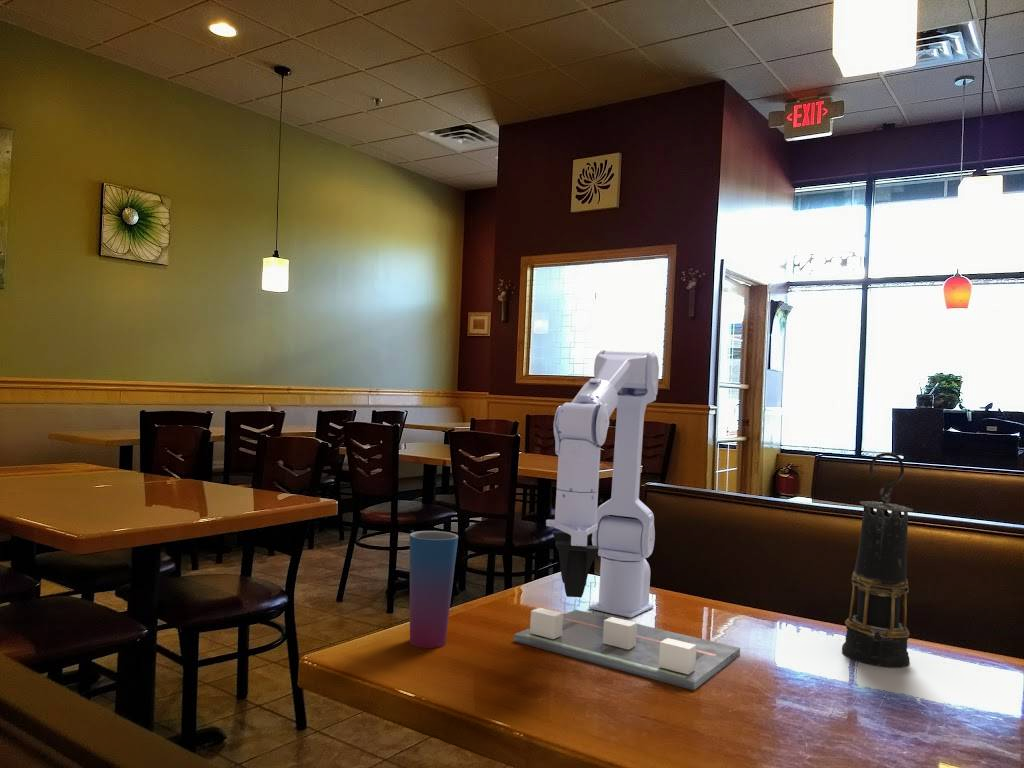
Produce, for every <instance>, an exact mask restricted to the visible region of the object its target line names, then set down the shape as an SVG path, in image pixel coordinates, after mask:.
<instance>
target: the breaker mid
mask: <svg viewBox="0 0 1024 768" xmlns="http://www.w3.org/2000/svg"><path fill="white" fill-rule="evenodd" d="M637 624H638V622H636V621H631V620H626V619H623V618H617V617H613V616H611V617H609V618H608V619H606V620H604V628H603V643H604V644H608V645H612V646H616V647H620V648H624V649H628V650H629V649H631V648H633V647H634V646H636V636H637Z"/></svg>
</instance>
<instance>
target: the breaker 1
mask: <svg viewBox="0 0 1024 768" xmlns="http://www.w3.org/2000/svg"><path fill="white" fill-rule="evenodd" d="M563 615H564V612H562V611H561V612H559V611H555V610H552V609H548V608H543V607H537V608H534V609H532V610H530V619H529V621H530V623H529V624H530V625H529V628H530V633H532V634H535V635H539V636H543V637H547V638H551V639H555V638H557V637H560V636H562V627H563Z"/></svg>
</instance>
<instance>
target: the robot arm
mask: <svg viewBox="0 0 1024 768" xmlns="http://www.w3.org/2000/svg"><path fill="white" fill-rule="evenodd" d="M659 365H660V364H659V358H658V355H656V353H655V352H654V351H648V352H647V351H646V352H644V351H641V352H640V351H614V350H613V351H608V350H602V349H601V350H600V351H599V352H598V353H597V354H596V357H595V360H594V365H593V366H594V367H593V376H594V378H593V377H591V378H590V379H589V380H588V381H587V382H586V383H584V385H582V387H581V388H580V390H579V391H578V392H577V394H576V395H575V397H574V398H573V399H572V400H571V402H564V403H563V404H562V405H559V406H558V407H557V409H556V411H555V414H554V418H553V419H554V420H553V436H554V440H555V448H554V449H555V450H554V451H555V455H557V456H558V458H557V459H558V460H557V475H556V477H557V478H556V492H555V493H556V495H555V510H554V511H555V512H554V519H546V520H545V526H546V527H551V528H554V529H557V530H553V531H552V535H553V537H554V540H555V546H556V549H557V551H558V556H559V565H560V575H561V580H562V583H563V585H564V592H565V595H566V597H568V598H582V597H583V594H584V592H585V588H586V584H587V579H588V576H589V572H590V569H591V566H592V564H593V561H594V559H595V558H596V556H598V557H600V570H599V586H598V587H599V589H598V601H597V602H594V603H591V604H589V605H588V609H591V610H594V611H595V610H596V611H598V612H599V611H600V612H603V613H604V612H605V613H607V614H608V613H609V614H612V615H617V616H621V617H626V618H633V617H635V616H637V615H640V614H642V613H644V612H646V611H649V610H650V609H652V608H654V604H653V603H650V590H651V589H650V586H651V585H650V584H651V567H650V564H649V562H648V561H647V558H650V556H651V555H652V554H653V551H654V547H655V540H656V537H655V536H656V531H655V516H654V513H653V511H652V510H651V509H650V508H649V507H648V506H647V505H646V504H645V503H644V502H642V500H640V485H641V469H642V456H643V455H642V453H643V436H644V422H645V421H644V420H645V415H646V414H645V413H646V408H647V405H648V404H650V403H653V402H655V401H656V400H657V395H658V393H659V391H658V390H659V375H660V374H659V373H660V372H659V371H660V366H659ZM615 409H616V418H615V419H616V421H615V436H614V437H615V438H614V449H613V465H612V478H611V479H612V480H611V493H610V494H611V495H610V499H608V500H606V501H605V502H604V503H602V504H600V505H598V503H599V501H598V499H599V486H600V485H599V484H600V482H599V481H600V479H599V478H600V467H601V466H600V465H601V464H600V463H601V447H602V446H603V445H604V444H605V442H606V439H607V434H608V429H609V426H610V417H611V416H612V414H613V412H614V411H615ZM609 515H610V516H609ZM625 517H626V518H625ZM627 517H628V518H627ZM590 541H591V544H592V545H591V544H590ZM589 544H590V545H589Z"/></svg>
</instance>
